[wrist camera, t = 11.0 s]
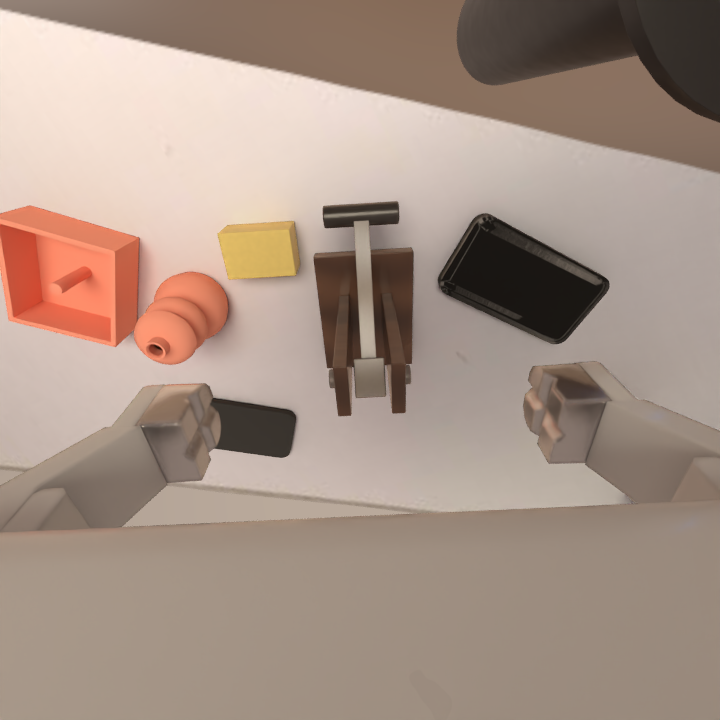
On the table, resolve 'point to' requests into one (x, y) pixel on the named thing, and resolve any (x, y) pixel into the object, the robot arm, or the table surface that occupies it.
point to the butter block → (260, 250)
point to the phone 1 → (254, 428)
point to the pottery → (100, 287)
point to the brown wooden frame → (389, 319)
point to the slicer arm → (364, 286)
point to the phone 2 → (521, 280)
